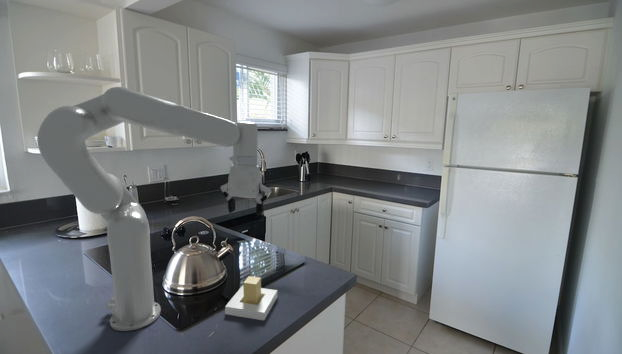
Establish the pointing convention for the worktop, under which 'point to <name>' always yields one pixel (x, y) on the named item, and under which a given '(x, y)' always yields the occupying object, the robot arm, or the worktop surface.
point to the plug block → (252, 290)
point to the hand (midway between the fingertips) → (245, 213)
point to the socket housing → (251, 305)
